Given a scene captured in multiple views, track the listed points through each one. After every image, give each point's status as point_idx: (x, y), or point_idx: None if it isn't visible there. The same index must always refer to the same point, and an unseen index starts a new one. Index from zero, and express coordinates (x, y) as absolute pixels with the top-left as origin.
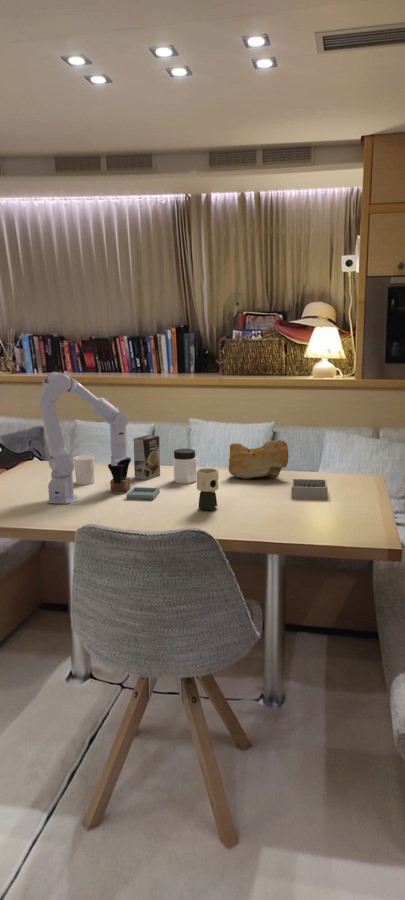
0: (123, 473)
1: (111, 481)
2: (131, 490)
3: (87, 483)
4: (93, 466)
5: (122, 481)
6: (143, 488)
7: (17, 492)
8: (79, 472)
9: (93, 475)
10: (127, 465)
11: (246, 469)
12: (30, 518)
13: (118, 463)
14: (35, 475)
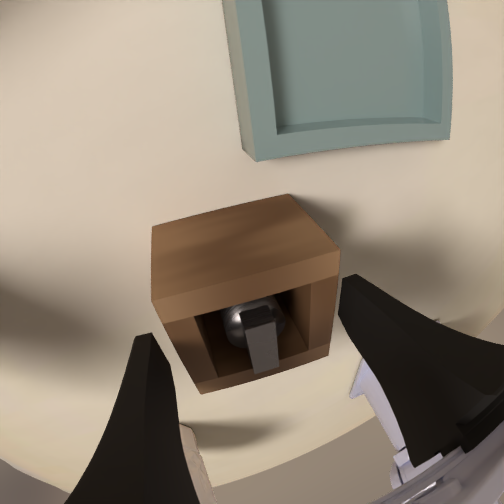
0: (163, 388)
1: (328, 346)
2: (369, 134)
3: (182, 427)
4: None
5: (336, 278)
6: (264, 43)
7: (311, 445)
8: (207, 477)
9: None
10: (147, 462)
11: None
12: (493, 305)
13: (480, 434)
14: None
